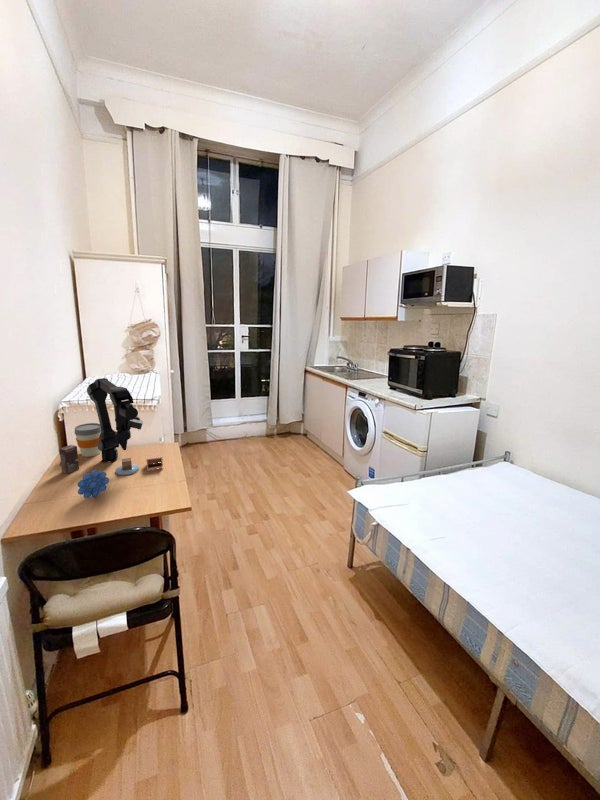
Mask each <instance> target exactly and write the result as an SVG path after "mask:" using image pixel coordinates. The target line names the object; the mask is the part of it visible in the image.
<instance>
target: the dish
mask: <svg viewBox="0 0 600 800" xmlns="http://www.w3.org/2000/svg"><path fill="white" fill-rule="evenodd" d="M131 464H132V469H131V470H125V471H123V469H122V465H119V466H118V467H117V468H116V469H115V474H116V475H118V476H130V475H133V474H136V473H137V472H138V471H139V469H140V468H139V467H140V466H139V465H138V464H136V463H131Z"/></svg>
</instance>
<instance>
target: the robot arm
mask: <svg viewBox="0 0 600 800" xmlns="http://www.w3.org/2000/svg"><path fill="white" fill-rule="evenodd" d="M86 393H87V395H88V396H89V399H90V400H91V401H92V402H93V403H94V404H95V409H96V413H97V418H98V421H99V424H100V426H101V434H100V436H99V438H100V441H99V443H98V445H97V446H98V449H99V450H100V451H101V453H100V454H101V459H102V460H101V461H100V462H101V463H109V462H110V463H111V462H116V461H117V460H118V457H119V450H118V449H117V448H120V447H121V449H122V450H123V451H126V450H127V445H128V440H130V439H131V437H132V435H131V429H137V430H138V431H139V430H142V427H143V424H144V421H143V420H141V418H140V416H139V411H138V409H137V408H136V407H134V405H133V404H134V398H133V396H132V394H131V393H130V391H129V389H128V388H127V387H123V386H117V385H116V384H114V383H113V382H111V381H110V380H109V379H108V378H107V377H102V378H96V379H95V380H94V381H93V382H91V383H89V385H88V386H87V388H86ZM108 395H109V399H110V401H111V402H112V405H113V411H114V422H115V430H116V431H115V430H114V429H113V427H112V423H111V419H110V415H109V411H108V407H107V403H106V400H107V397H108Z"/></svg>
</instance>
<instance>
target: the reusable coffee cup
mask: <svg viewBox="0 0 600 800" xmlns="http://www.w3.org/2000/svg"><path fill="white" fill-rule="evenodd" d="M100 434H101V426H100V423H97V422H90V423H89V422H87V423H83V424H79V425H77V426H75V427H74V435H75V437H76V438H75V440H76V443H77V448H79V451H80V454H81V456H82V457H88V458H89V457H93V456H98V455H99V453H100V454H102V453H101V451H100V450H99V449H98V446H97V445H98V443H99V441H100V438H99V436H100ZM97 454H98V455H97Z"/></svg>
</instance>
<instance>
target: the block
mask: <svg viewBox="0 0 600 800" xmlns="http://www.w3.org/2000/svg"><path fill="white" fill-rule="evenodd" d="M132 464H133V463H132V457H126V458H121V466H122V469H123V471H125V470H131V469H132Z"/></svg>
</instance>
